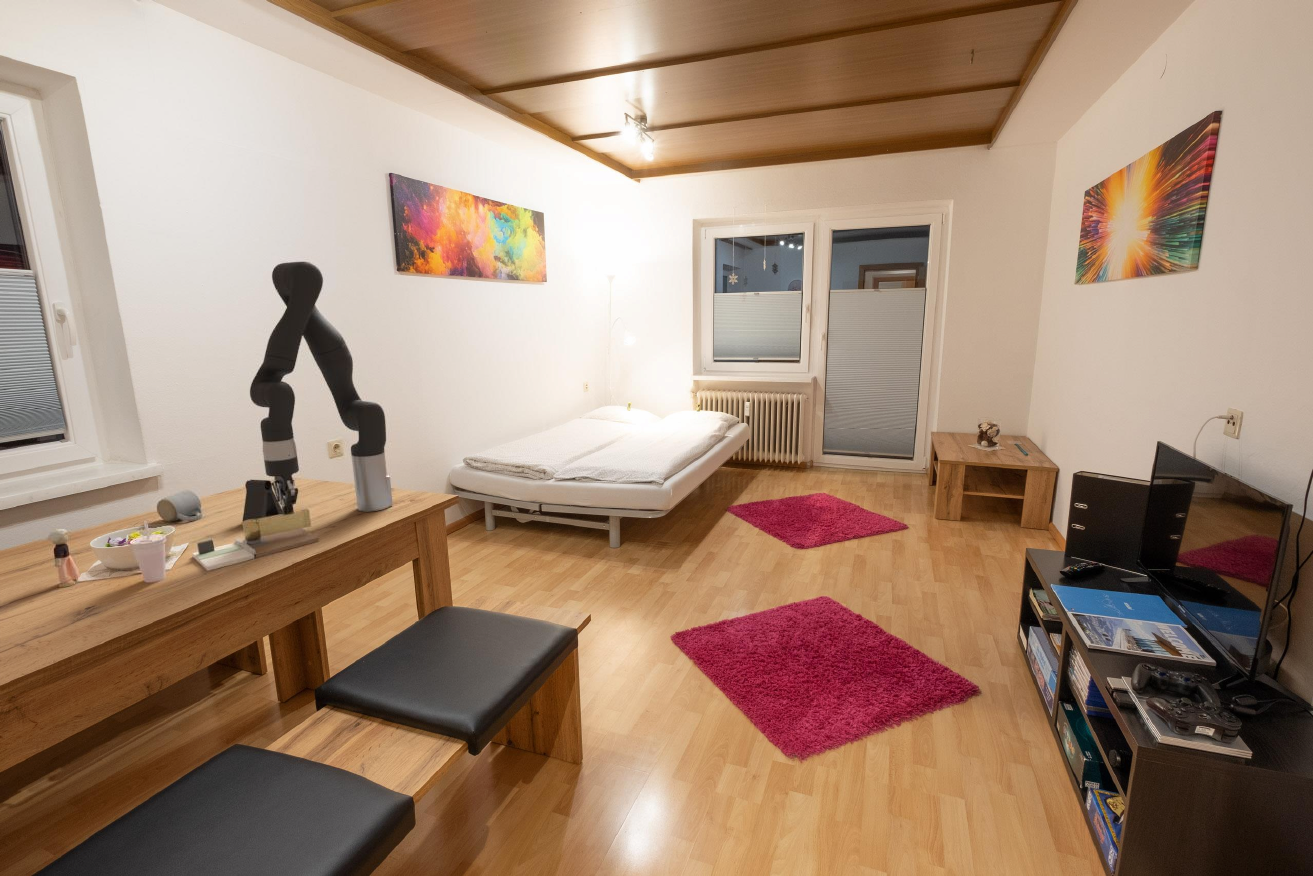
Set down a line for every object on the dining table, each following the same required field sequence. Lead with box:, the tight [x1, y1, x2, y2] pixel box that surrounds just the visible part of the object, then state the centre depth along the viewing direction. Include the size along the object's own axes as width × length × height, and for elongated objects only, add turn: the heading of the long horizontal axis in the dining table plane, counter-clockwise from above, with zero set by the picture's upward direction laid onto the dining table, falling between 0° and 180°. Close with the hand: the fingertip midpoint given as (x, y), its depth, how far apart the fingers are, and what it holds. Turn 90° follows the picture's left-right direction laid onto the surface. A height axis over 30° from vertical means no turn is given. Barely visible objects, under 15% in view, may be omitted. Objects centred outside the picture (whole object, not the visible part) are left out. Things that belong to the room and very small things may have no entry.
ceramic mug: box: [156, 489, 204, 522], centre depth 178 cm, size 11×8×8 cm
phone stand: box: [241, 479, 283, 523], centre depth 176 cm, size 9×6×12 cm, turn 171°
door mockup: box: [191, 528, 320, 571], centre depth 154 cm, size 24×13×4 cm, turn 139°
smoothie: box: [129, 520, 167, 583], centre depth 136 cm, size 6×6×14 cm
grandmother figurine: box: [46, 528, 81, 588], centre depth 135 cm, size 8×4×13 cm, turn 44°
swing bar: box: [241, 508, 312, 541], centre depth 158 cm, size 15×4×5 cm, turn 132°
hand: (289, 518), depth 163 cm, fingers closed
